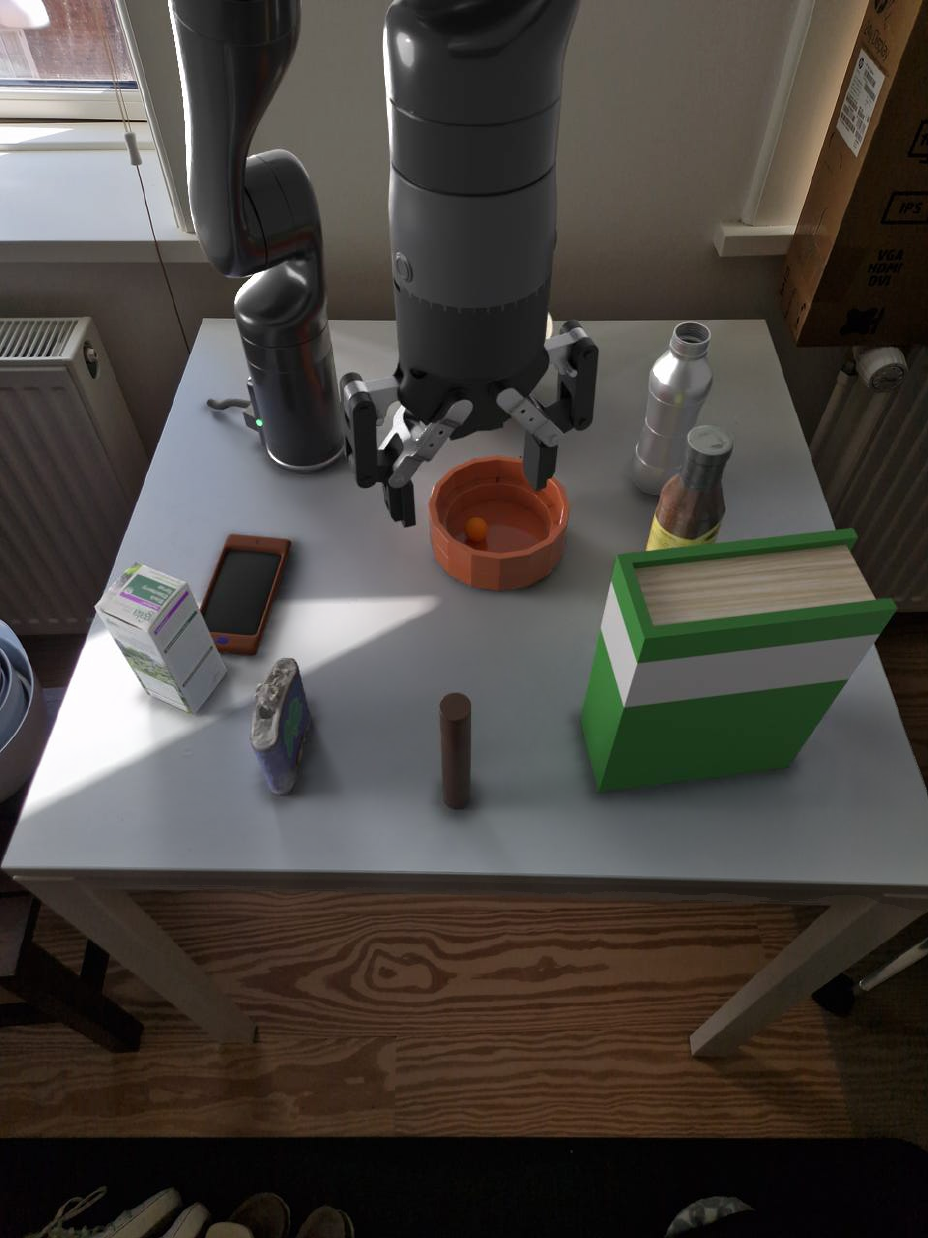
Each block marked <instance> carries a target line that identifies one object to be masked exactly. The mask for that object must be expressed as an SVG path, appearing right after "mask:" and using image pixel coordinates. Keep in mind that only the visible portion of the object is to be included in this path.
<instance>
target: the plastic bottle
mask: <svg viewBox="0 0 928 1238" xmlns="http://www.w3.org/2000/svg"><path fill="white" fill-rule="evenodd" d="M711 335H712V334H711V330H710V329H709V328H708V327H707V326H706V325H705V324H702V323H700V322H697V321H684V322H680V323H678V324H677V325H675V327H674V329H673V332H672V337H671V338H670V339H669V340H670V341H669V344H668V350H665V351H664V352H663V353H662V354H661V355H660V356H659V357H657V359H656V360H655V362H654V363H653V366H652V367H651V368H650V371H649V377H648V391H647V406H646V412H645V418H644V423H643V427H642V430H641V433H640V436H639V440H638V442H637V444H636V446H635V448H634V449H633V452H632V455H631V457H630V461H629V466H630V468H629V470H630V471H629V476H630V479H631V481H632V482H633V483H634V485H635V486H636V487H637V488H638V490H640V491H642V492H643V493H645V494H648V495H652V496H660V495H661V492H662V490H663V487H664V486H665V484H666V483H667V482H668V480H670V478H672V477H673V476H674V475H676V474H677V473H679V468H680V466H681V465H682V462H683V458H684V454H685V452H684V445H685V442H686V438H687V435H688V433H689V432H690V431H691V430H692V429H693V428H695V426H696V423H697V420H698V418H699V415H700V413H701V410H702V408H703V406H704V404H705V401H706V400H707V397H708V396H709V394H710V391H711V388H712V387H713V381H714V380H713V379H714V377H713V376H714V375H713V368H712V366H711V364H710V361H709V359H708V357H707V355H708V352H709V348H710V345H709V344H710V341H711Z"/></svg>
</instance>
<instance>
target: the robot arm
mask: <svg viewBox="0 0 928 1238" xmlns="http://www.w3.org/2000/svg"><path fill="white" fill-rule="evenodd" d="M167 1H168V7H169V13H170V20H171V24H172V30H173V35H174V42H175V49H176V56H177V61H178V68H179V76H180V81H181V89H182V97H183V98H182V99H183V109H184V110H183V111H184V121H185V124H184V125H185V145H186V147H185V148H186V171H187V172H186V173H187V188H188V200H189V207H190V214H191V218H192V223H193V228H194V231H195V234H196V235H195V236H196V238H197V241H198V243H199V246H200V248H201V250H202V253H203V254H204V257H205V258H206V259H207V261H208V263H209V264H210V265H211V267H212V268H213V269H214V270H215V271H217V272H218V273H219V274H221V275H222V276H224V277H227V278H229V279H241V278H247V277H251V276H252V277H251V278H250V279H248V280H247V281H246V282H245V283H244V284H243V285H242V287H240V288H239V290H238V291H237V293H236V296H235V297H234V302H233V314H234V317H235V323H236V327H237V329H238V334H239V338H240V341H241V345H242V350H243V354H244V357H245V361H246V365H247V369H248V373H249V378H247V380H246V387H247V391H248V396H249V400H247V399H241V398H226V399H224V400H222V401H216V400H215V399H212V398H209V399H207V401H206V406H207V407H209V408H211V409H213V410H216V411H224V410H227V409H229V408H233V407H234V408H239V409H243V410H242V414H243V419H244V423H245V426H246V427H248V428H249V429H251V430H253V431H256V432H257V433H258V435H259V438H260V442H261V446H262V447H263V448H265V449H266V450H267V453H268V456H269V458H270V460H271V461H272V463H273V464H275V465H276V466H277V467H278V468H280V469H282V470H284V471H287V472H290V473H295V474H310V473H316V472H319V471H323V470H325V469H328V468H330V467H332V466H333V465H334V464H336V463H338V461H339V460H341V459H342V457H345V459H346V461H347V463H348V464H349V466H350V469H351V471H352V473H353V475H354V480H355V483H356V485H357V486H358V488H360V489H370V488H373V487H374V486H375V485H376V484H377V483H380V484H381V486H382V487H381V488H382V494H383V495H382V497H383V503H384V505H385V507H386V510H387V511H388V513H389V516H390V518H391V520H392V521H393V522H394V523H397V522H401V524H402V526H403V528H404V529H407V528H411V527H413V526H416V525H417V519H416V518H417V517H416V516H417V515H416V504H415V503H416V502H415V488H414V487H415V486H414V482H413V481H412V477H413V476H414V475H415V474H416V472H417V471H418V470H419V468H420V467H421V466H422V464H423V463H424V462H426V463H430V462H432V460H433V459H434V458H435V457H436V455H437V454H438V452H439V451H440V449H441V448H442V447H443V446H444V444H445V443H446V441H447V440H448V439H450V441H457V440H460V439H465V438H467V437H468V436H471V435H472V434H475V433H476V432H477V433H478V432H488V431H489V432H491V431H494V430H495V431H496V430H498V429H502V428H504V423H506V422H508V421H509V420H511V419H512V418H513V419H514V420H515V421H516V422H517V423H518V424H519V425H520V426H521V427H523V429H524V441H523V455H522V459H523V465H522V467H523V472H524V475H525V477H526V479H527V480H528V482H529V484H530V485H531V487H532V489H533V490H534V491H538V490H541V489H545V488H546V487H547V480H548V479H551V478H552V477H553V476H554V475H555V473H556V468H557V459H558V451H559V444H560V443H561V442H562V441H563V440H564V437H565V434H566V433H568V432H569V431H572V430H573V429H574V430H575V431H577V432H582V431H585V430H587V429H589V427H591V425H592V424H593V421H594V413H595V411H594V410H595V399H596V388H597V376H598V367H599V365H598V364H599V355H600V351H599V350H600V349H599V348H598V346H597V345H596V344H595V342H594V341H593V340H592V338H591V337H590V335H589V334H588V332H587V331H586V330H585V328H583V326H582V325H581V324H580V321H578V320H576V319H569V320H566V321H565V322H564V323H563V324H562V325H561V326H560V329H559V331H558V332H559V334H558V335H555V336H552V337H551V338H548V339H546V332H547V321H548V312H549V309H550V299H551V287H552V277H553V276H552V274H553V265H554V254H555V253H554V252H555V249H556V245H557V241H558V233H557V218H558V190H557V153H558V142H559V131H560V121H561V110H562V109H561V108H562V97H563V96H562V95H563V80H564V67H565V59H566V55H567V51H568V46H569V42H570V40H571V39H570V38H571V35H572V32H573V29H574V26H575V22H576V20H577V16H578V13H579V10H580V6H581V3H582V0H393V1H392V2H391V4H390V5H389V6H388V9H387V11H386V14H385V18H384V22H383V28H382V29H383V30H382V31H383V32H382V58H383V59H382V61H383V72H384V73H383V74H384V86H385V101H386V115H387V116H386V117H387V133H388V146H389V163H390V164H389V166H390V168H389V169H390V171H389V185H388V186H389V188H388V202H387V203H388V204H387V206H388V207H387V209H388V228H389V242H390V256H391V270H392V281H393V283H392V285H393V297H394V309H395V311H394V312H395V323H396V338H397V348H398V360H397V362H396V366H395V367H394V370H393V372H392V374H391V376H386V377H380V378H374V379H369V380H364V379H363V377H362V376H361V375H360V374H359V373H358V372H356V371H355V372H354V371H351V372H347V373H345V374H344V375H343V376H342V377H341V378H340V380H339V382H338V377H337V369H336V364H335V363H336V362H335V357H334V351H333V350H334V349H333V344H332V337H331V331H330V330H331V329H330V324H329V317H328V310H327V305H328V300H329V291H328V281H327V271H326V259H325V246H324V235H323V226H322V225H323V224H322V216H321V212H320V206H319V202H318V197H317V194H316V191H315V187H314V185H313V182H312V179H311V177H310V175H309V173H308V171H307V170H306V168H305V166H304V165H303V163H302V162H301V161H300V160H299V158H298V157H297V156H296V155H295V154H293V153H292V152H291V151H288V150H287V149H282V148H275V149H274V148H273V149H270V150H266V151H263V152H260V153H256V154H253V155H251V156H250V155H249V153H250V152H249V151H250V149H251V145H252V143H253V140H254V138H255V135H256V133H257V130H259V127H260V125H261V122H262V121H263V119H264V117H265V116H266V113H267V112H268V111H269V108H270V106H271V105H272V103H273V101H274V99H275V97H276V96H277V94H278V92H279V90H280V87H281V86H282V84H283V82H284V80H285V78H286V76H287V74H288V71H289V69H290V66H291V64H292V62H293V60H294V57H295V54H296V51H297V47H298V45H299V40H300V35H301V27H302V0H167ZM551 364H552V365H553V367H554V368H555V370H556V371H557V383H556V384H557V385H556V401H555V402H552V403H551V404H549V405H547V406H546V405H545V404H544V403H542V401H541V400H540V399H539V398H538V397H537V396H536V395H535V394H534V393H533V391H534V389H535V388H536V387H537V385H538V384H539V383H540V381H541V380H542V379H543V378H544V376H545V375H546V373H547V371H548V369H549V367H550V365H551ZM396 402H399V404H400V406H399V407H398V409H397V410H396V412H395V414H394V416H393V418H392V427H391V428H390V430H389V432H388V434H387V435H386V436H385V438H384V439H383V441H382V442H381V443H380V445H379V446H378V437H377V435H378V434H377V433H378V432H377V427H382V426H383V425H384V424H385V420H384V419H385V418H386V417H387V412H388V409H389V408H390V406H392V405H393V404H394V403H396ZM421 423H422V424H424V425H425V426H426V427H425V429H424V430H423V428H422V427H421Z"/></svg>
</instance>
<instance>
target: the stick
mask: <svg viewBox="0 0 928 1238" xmlns="http://www.w3.org/2000/svg"><path fill="white" fill-rule="evenodd" d="M472 710H473V709H472V702H471V700H470V698H469V697H468V696H467V695H466V694H465V693H464V694H463V693H462V692H458V691H457V692H456V691H455V692H449V693H447V694H445V695H444V696H443V697H442V698H441V699H440V701H439V703H438V718H439V719H438V720H439V737H440V757H441V758H440V760H441V782H442V799H443V802H444V804H445V805H446V807H448V808H449V809H451V810H456V811H457V810H462V809H464V808H466V807H467V806H468V805H469V803H470V801H471V779H472V778H471V776H472V775H471V773H472V770H471V769H472Z"/></svg>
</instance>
